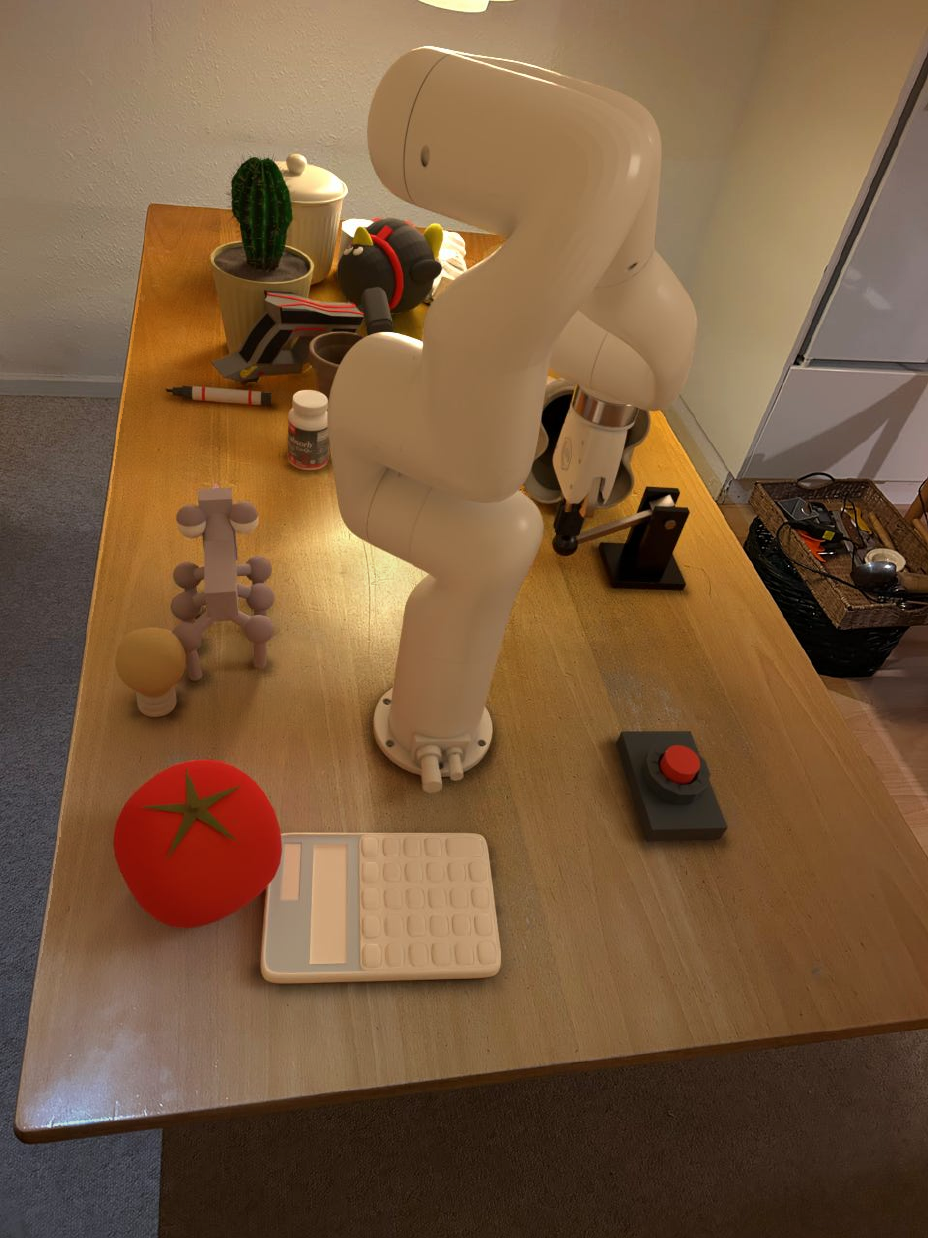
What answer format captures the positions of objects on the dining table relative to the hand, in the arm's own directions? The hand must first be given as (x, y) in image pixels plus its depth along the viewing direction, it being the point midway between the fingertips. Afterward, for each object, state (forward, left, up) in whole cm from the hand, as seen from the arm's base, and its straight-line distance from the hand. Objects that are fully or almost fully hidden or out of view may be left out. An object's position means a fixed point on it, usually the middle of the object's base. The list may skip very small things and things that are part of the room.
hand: (565, 531), depth 108 cm
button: (-34, -5, -3) cm, 35 cm away
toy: (+78, +12, +2) cm, 78 cm away
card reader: (+43, +19, -6) cm, 47 cm away
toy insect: (-10, +41, -7) cm, 43 cm away
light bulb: (-23, +47, -7) cm, 53 cm away
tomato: (-42, +41, -7) cm, 59 cm away
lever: (+1, -7, -1) cm, 7 cm away
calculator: (-46, +25, -7) cm, 53 cm away
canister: (+82, +35, -6) cm, 89 cm away
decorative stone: (+81, +10, -6) cm, 82 cm away
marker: (+35, +45, -6) cm, 58 cm away
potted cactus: (+52, +39, -6) cm, 65 cm away
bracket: (+1, -12, -6) cm, 14 cm away
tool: (+45, +37, -8) cm, 59 cm away
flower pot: (+35, +26, -6) cm, 45 cm away
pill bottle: (+21, +32, -7) cm, 39 cm away
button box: (-34, -5, -6) cm, 35 cm away
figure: (+70, +6, -3) cm, 71 cm away
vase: (+24, -5, -7) cm, 25 cm away
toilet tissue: (+84, +21, +3) cm, 86 cm away
